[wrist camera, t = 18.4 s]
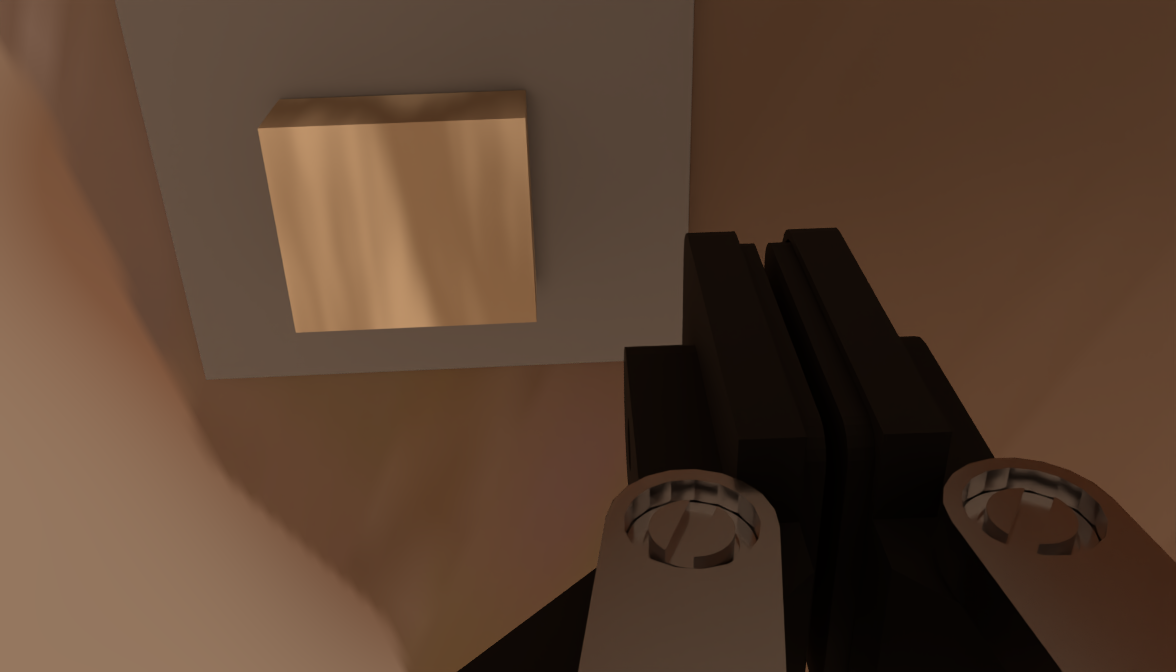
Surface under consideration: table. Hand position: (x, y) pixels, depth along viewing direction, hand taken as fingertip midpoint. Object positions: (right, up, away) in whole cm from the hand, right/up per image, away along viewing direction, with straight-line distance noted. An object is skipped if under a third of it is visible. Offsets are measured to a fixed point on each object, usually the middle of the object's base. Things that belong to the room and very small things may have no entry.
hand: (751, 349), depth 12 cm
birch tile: (-4, +4, +22) cm, 23 cm away
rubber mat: (-7, +5, +24) cm, 26 cm away
